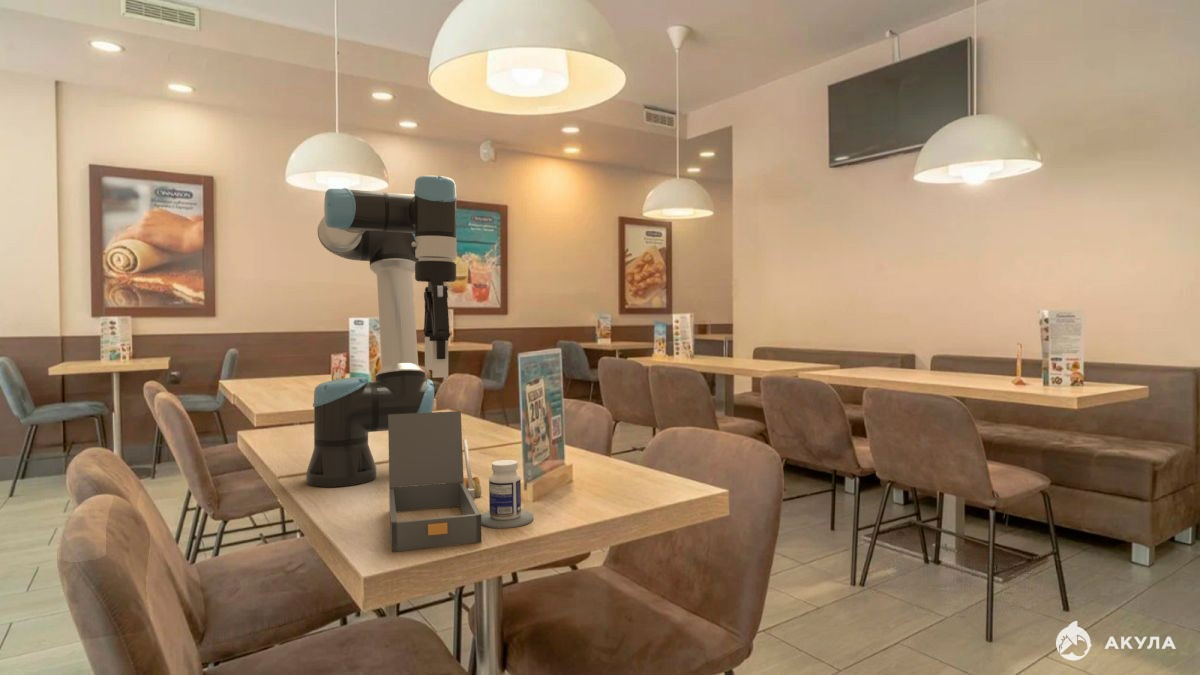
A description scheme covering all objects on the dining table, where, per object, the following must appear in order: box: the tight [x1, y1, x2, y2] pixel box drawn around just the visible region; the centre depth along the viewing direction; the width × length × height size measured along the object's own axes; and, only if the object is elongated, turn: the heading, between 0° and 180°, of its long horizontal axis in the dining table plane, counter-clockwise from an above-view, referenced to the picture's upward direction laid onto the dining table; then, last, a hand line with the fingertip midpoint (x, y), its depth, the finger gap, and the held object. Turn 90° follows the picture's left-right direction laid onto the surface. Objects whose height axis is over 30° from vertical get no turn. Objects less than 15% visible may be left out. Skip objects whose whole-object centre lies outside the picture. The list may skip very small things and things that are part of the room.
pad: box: [481, 509, 534, 529], centre depth 121 cm, size 10×10×1 cm
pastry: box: [455, 476, 482, 498], centre depth 139 cm, size 9×7×4 cm
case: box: [387, 410, 482, 553], centre depth 119 cm, size 29×15×18 cm, turn 19°
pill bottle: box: [488, 459, 522, 520], centre depth 121 cm, size 6×6×10 cm
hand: (435, 373), depth 125 cm, fingers open, 13 cm apart
